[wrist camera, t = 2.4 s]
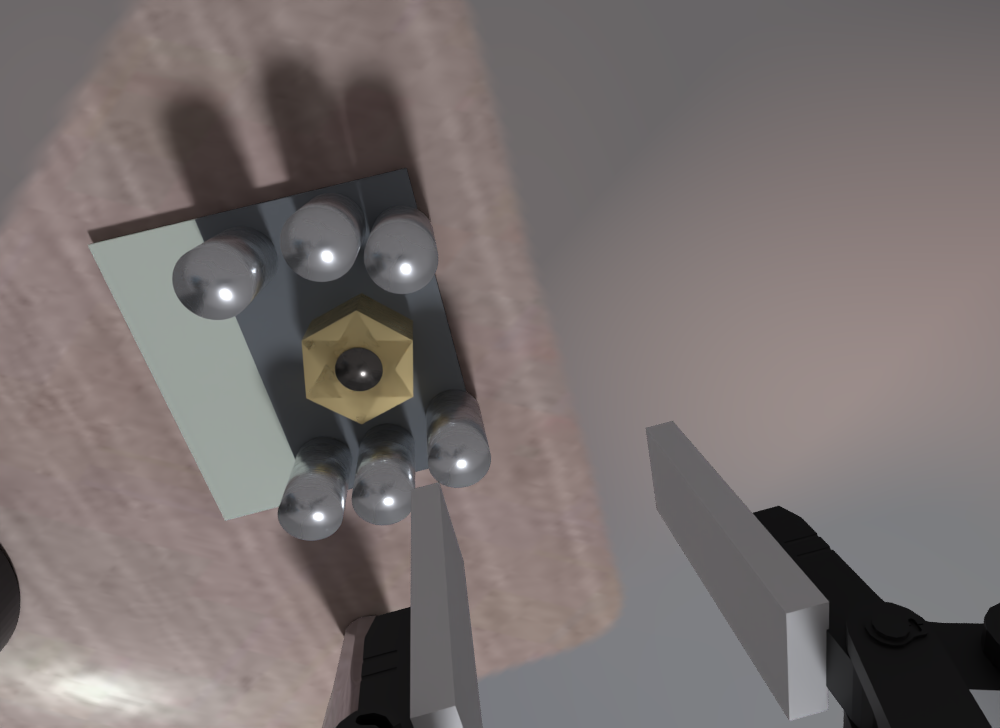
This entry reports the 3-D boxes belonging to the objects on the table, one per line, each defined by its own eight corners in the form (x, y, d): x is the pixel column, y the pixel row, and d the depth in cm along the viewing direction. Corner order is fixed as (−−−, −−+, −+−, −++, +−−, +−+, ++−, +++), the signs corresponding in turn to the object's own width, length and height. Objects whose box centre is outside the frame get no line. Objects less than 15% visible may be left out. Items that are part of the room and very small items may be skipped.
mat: (227, 515, 34) (224, 521, 34) (93, 243, 28) (86, 245, 27) (481, 449, 35) (482, 454, 34) (406, 167, 28) (406, 168, 28)
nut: (342, 410, 32) (335, 438, 29) (287, 334, 30) (273, 356, 27) (437, 359, 32) (439, 383, 29) (386, 279, 30) (384, 295, 27)
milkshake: (309, 642, 38) (277, 805, 29) (371, 595, 38) (357, 747, 28) (359, 677, 40) (343, 842, 31) (419, 632, 39) (421, 788, 30)
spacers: (308, 491, 34) (292, 550, 29) (196, 224, 28) (153, 244, 23) (489, 444, 34) (501, 495, 29) (417, 170, 28) (418, 180, 23)
